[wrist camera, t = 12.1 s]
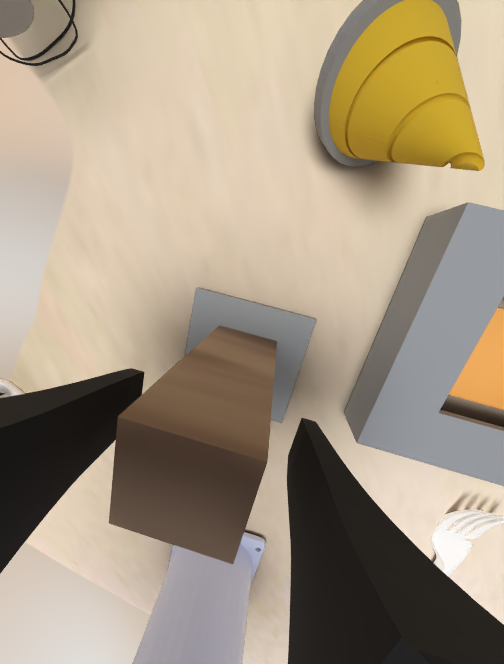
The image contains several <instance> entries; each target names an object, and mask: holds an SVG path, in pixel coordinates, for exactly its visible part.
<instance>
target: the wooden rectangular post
mask: <svg viewBox="0 0 504 664" xmlns="http://www.w3.org/2000/svg"><path fill="white" fill-rule="evenodd" d="M276 349H277V341H275V340H272V339H268V338H264V337H261V336H257V335H253V334H250V333H246V332H242V331H239V330H235V329H231V328H228V327H224V326H220V325H219V326H218V327H217V328H216V329H215V330H214V331H212V332H211V333H210V334H209V335H208V336H207V337H206V338H205V339H204V340H202V341H201V342H200V343H199V344H198V345H197V346H196V347H195V348H194V349H192V350H191V351H190V352H189V353H188V354H187V355H186V356H185V357H184V358H182V359H181V360H180V361H179V362H178V363H177V364H176V365H175V366H173V367H172V368H171V369H170V370H169V371H168V372H167V373H166V374H165V375H163V376H162V377H161V378H160V379H159V380H158V381H157V382H156V383H155V384H153V385H152V386H151V387H150V388H149V389H148V390H147V391H146V392H145V393H143V394H142V395H141V396H140V397H139V398H138V399H137V400H136V401H135V402H133V403H132V404H131V405H130V406H129V407H128V408H127V409H126V410H125V411H123V412H122V413H121V414H120V415H119V416H118V420H117V432H116V444H115V456H114V468H113V480H112V492H111V504H110V516H109V523H110V524H113V525H116V526H119V527H122V528H125V529H128V530H131V531H134V532H137V533H140V534H143V535H146V536H149V537H152V538H155V539H158V540H161V541H164V542H167V543H170V544H173V545H176V546H179V547H182V548H185V549H188V550H191V551H194V552H197V553H200V554H203V555H206V556H209V557H212V558H215V559H218V560H221V561H224V562H227V563H230V564H234V561H235V558H236V555H237V552H238V549H239V546H240V543H241V540H242V537H243V534H244V531H245V527H246V524H247V521H248V518H249V515H250V512H251V509H252V506H253V503H254V500H255V497H256V494H257V491H258V488H259V485H260V482H261V479H262V476H263V473H264V470H265V467H266V464H267V459H268V446H269V434H270V422H271V410H272V398H273V385H274V373H275V361H276Z"/></svg>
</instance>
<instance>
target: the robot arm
mask: <svg viewBox="0 0 504 664" xmlns="http://www.w3.org/2000/svg"><path fill="white" fill-rule="evenodd" d="M143 379H144V372H142V371H139V370H136V369H132V368H131V369H126V370H121V371H117V372H113V373H110V374H106V375H102V376H99V377H95V378H91V379H87V380H84V381H80V382H76V383H72V384H68V385H63V386H59V387H55V388H51V389H46V390H42V391H37V392H32V393H26V394H20V395H15V396H9V397H3V398H0V573H1V572H2V571H3V569H4V568H5V567H6V565H7V564H8V563H9V561H10V560H11V559H12V558H13V556H14V555H15V554H16V552H17V551H18V550H19V548H20V547H21V546H22V545H23V543H24V542H25V541H26V540H27V538H28V537H29V536H30V535H31V533H32V532H33V531H34V530H35V528H36V527H37V526H38V525H39V523H40V522H41V521H42V520H43V518H44V517H45V516H46V515H47V513H48V512H49V511H50V510H51V509H52V507H53V506H54V505H55V504H56V503H57V501H58V500H59V499H60V498H61V497H62V496H63V494H64V493H65V492H66V491H67V490H68V488H69V487H70V486H71V485H72V484H73V483H74V482H75V481H76V480H77V478H78V477H79V476H80V475H81V474H82V473H83V472H84V471H85V470H86V469H87V468H88V467H89V466H90V465H91V464H92V463H93V462H94V461H95V460H96V459H97V458H98V457H99V456H100V455H101V454H102V453H103V452H104V451H105V450H106V449H107V448H108V447H109V446H110V445H111V444H112V443H113V442H114V441H115V440H116V432H117V420H118V416H119V415H120V414H121V413H122V412H123V411H125V410H126V409H127V408H128V407H129V406H130V405H131V404H132V403H133V402H135V401H136V400H137V399H138V398H139V397H140V396H141V395H142V388H143ZM287 490H288V507H289V523H290V539H291V595H290V627H289V653H288V664H504V625H503V624H502V623H501V622H500V621H498V620H497V619H496V618H495V617H494V616H492V615H491V614H490V613H489V612H488V611H486V610H485V609H484V608H483V607H482V606H481V605H479V604H478V603H477V602H476V601H475V600H473V599H472V598H471V597H470V596H469V595H468V594H467V593H466V592H465V591H463V590H462V589H461V588H460V587H459V586H458V585H457V584H456V583H455V582H454V581H452V580H451V579H450V578H449V577H448V576H447V575H446V574H445V573H444V572H443V571H441V570H440V569H439V568H438V567H437V566H436V565H435V564H434V563H433V562H432V561H431V560H430V559H429V558H428V557H427V556H426V555H425V554H424V553H422V552H421V551H420V550H419V549H418V548H417V547H416V546H415V545H414V543H413V542H412V541H411V540H410V539H409V538H408V537H407V536H406V535H405V534H404V533H403V532H402V531H401V530H400V529H399V528H398V527H397V526H396V525H395V524H394V523H393V522H392V521H391V520H390V519H389V518H388V517H387V515H386V514H385V513H384V512H383V511H382V510H381V509H380V507H379V506H378V505H377V504H376V503H375V502H374V501H373V500H372V498H371V497H370V496H369V495H368V494H367V492H366V491H365V490H364V489H363V488H362V486H361V485H360V484H359V482H358V481H357V480H356V479H355V477H354V476H353V475H352V473H351V472H350V471H349V469H348V468H347V467H346V465H345V464H344V463H343V461H342V460H341V458H340V457H339V455H338V454H337V453H336V451H335V450H334V448H333V447H332V445H331V444H330V442H329V441H328V439H327V438H326V436H325V435H324V433H323V432H322V430H321V429H320V427H319V426H318V424H317V423H316V422H314V421H311V420H308V419H304V418H302V419H301V421H300V424H299V427H298V430H297V432H296V435H295V438H294V441H293V444H292V446H291V449H290V452H289V455H288V468H287ZM264 548H265V540H264V539H263V538H261V537H258V536H255V535H252V534H249V533H246V532H244V534H243V537H242V540H241V543H240V546H239V549H238V552H237V555H236V558H235V561H234V564H230V563H227V562H224V561H221V560H218V559H215V558H212V557H209V556H206V555H203V554H200V553H197V552H194V551H191V550H188V549H185V548H182V547H179V546H176V545H173V548H172V553H171V558H170V563H169V568H168V572H167V574H166V577H165V579H164V582H163V585H162V587H161V590H160V593H159V595H158V598H157V600H156V603H155V606H154V608H153V611H152V614H151V616H150V619H149V621H148V624H147V627H146V629H145V632H144V635H143V637H142V640H141V643H140V645H139V648H138V651H137V653H136V656H135V658H134V661H133V664H242V660H243V651H244V641H245V631H246V622H247V612H248V602H249V593H250V585H251V583H252V580H253V577H254V575H255V572H256V569H257V567H258V564H259V562H260V559H261V556H262V554H263V551H264Z"/></svg>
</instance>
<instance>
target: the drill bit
mask: <svg viewBox="0 0 504 664" xmlns="http://www.w3.org/2000/svg"><path fill="white" fill-rule="evenodd" d="M460 36H461V15H460V9H459V3H458V1H457V0H363V1H362V2H361V3H360V4H359V5H358V6H357V7H356V8H355V9H354V10H353V11H352V12H351V14H350V15H349V17H348V18H347V20H346V21H345V22H344V24H343V25H342V27H341V28H340V29H339V31H338V33H337V35H336V37H335V39H334V40H333V42H332V44H331V46H330V48H329V50H328V52H327V55H326V57H325V60H324V63H323V65H322V68H321V71H320V75H319V79H318V82H317V86H316V94H315V101H314V119H315V124H316V129H317V133H318V135H319V137H320V140H321V142H322V143H323V145H324V146H325V147H326V149H327V150H328V152H329V153H330V154H331V156H332V157H333V158H334V159H336V160H337V161H338V162H339V163H342V164H344V165H347V166H356V167H358V166H364V165H369V164H371V163H374V162H377V161H387V162H398V163H407V164H416V165H426V166H436V167H444V166H445V165H447V164H448V163H451V168H455V169H465V170H476V171H480V170H482V169H483V167H484V158H483V154H482V150H481V147H480V143H479V139H478V135H477V131H476V128H475V124H474V120H473V116H472V113H471V109H470V105H469V101H468V97H467V94H466V90H465V86H464V82H463V78H462V75H461V71H460V67H459V63H458V59H457V53H458V48H459V43H460Z"/></svg>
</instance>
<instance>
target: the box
mask: <svg viewBox="0 0 504 664" xmlns="http://www.w3.org/2000/svg"><path fill="white" fill-rule="evenodd" d="M58 1H59V2H60V3H61V5H62V6H63V8H64V9H65V11H66V12H67V14H68V16H69V17H70V21H69V23H68V25H67V27H66V28H65V30H64V31H63V32H62V34H61V35H60V36H59V37H58V38H57V39H56V40H55V41H53V42H52V43H51V44H50V45H49V46H48V47H47V48H46V49H44V50H43V51H42V52H40V53H39V54H37V55H35V56H32V57H29V58H20V57H18V56H17V55H16V54H15V53H14V52H13V51H12V50H11V49H10V48H9V47H8V46H7V45H6V44H5V42H4V41H3V40H2V39H1V38H6V37H12V36H16V35H19V34H21V33H23V32H24V31H26V30H27V29H28V28H29V27H30V25H31V23H32V21H33V18H34V8H33V4H32V2H31V0H0V40H1V41H2V42H3V43H4V45H5V46H6V47H7V48H8V49H9V50H10V51H11V52H12V53H13V54H14V55H15V57H17V58H18V59H20V60H24V61H26V60H32V59H35V58H37V57H39V56H41V55H42V54H44V53H45V52H46V51H48V50H49V49H50V48H51V47H52V46H53V45H54V44H55V43H56V42H58V41H59V40H60V39H61V38H62V37H63V35H64V34H65V33H66V32H67V30H68V29H69V27H70V25H71V23H73V26H74V28H75V32H76V36H75V39H74V41H73V42H72V44H71V45H70V47H69V48H68V49H67V50H66V51H65V52H64V53H62V54H60V55H58V56H55V57H52V58H50V59H48V60H46V61H43V62H41V63H26V62H22V61H19V60H15V59H13V58H11V57H9V56H7V55H5V54H4V53H2V52H1V51H0V53H1V54H2V55H3V56H5V57H7V58H8V59H10V60H13V61H15V62H18V63H21V64H25V65H30V66H39V65H43V64H46V63H48V62H50V61H52V60H55V59H57V58H60V57H62V56H64V55H66V54H67V53H68V52H69V51H70V50H71V49H72V47H73V46H74V44H75V43H76V41H77V38H78V33H77V29H76V26H75V24H74V21H73V16H74V10H75V0H73V8H72V14H71V16H70V14H69V12H68V10H67V9H66V7H65V6H64V4H63V3H62V2H61V0H58Z"/></svg>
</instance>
